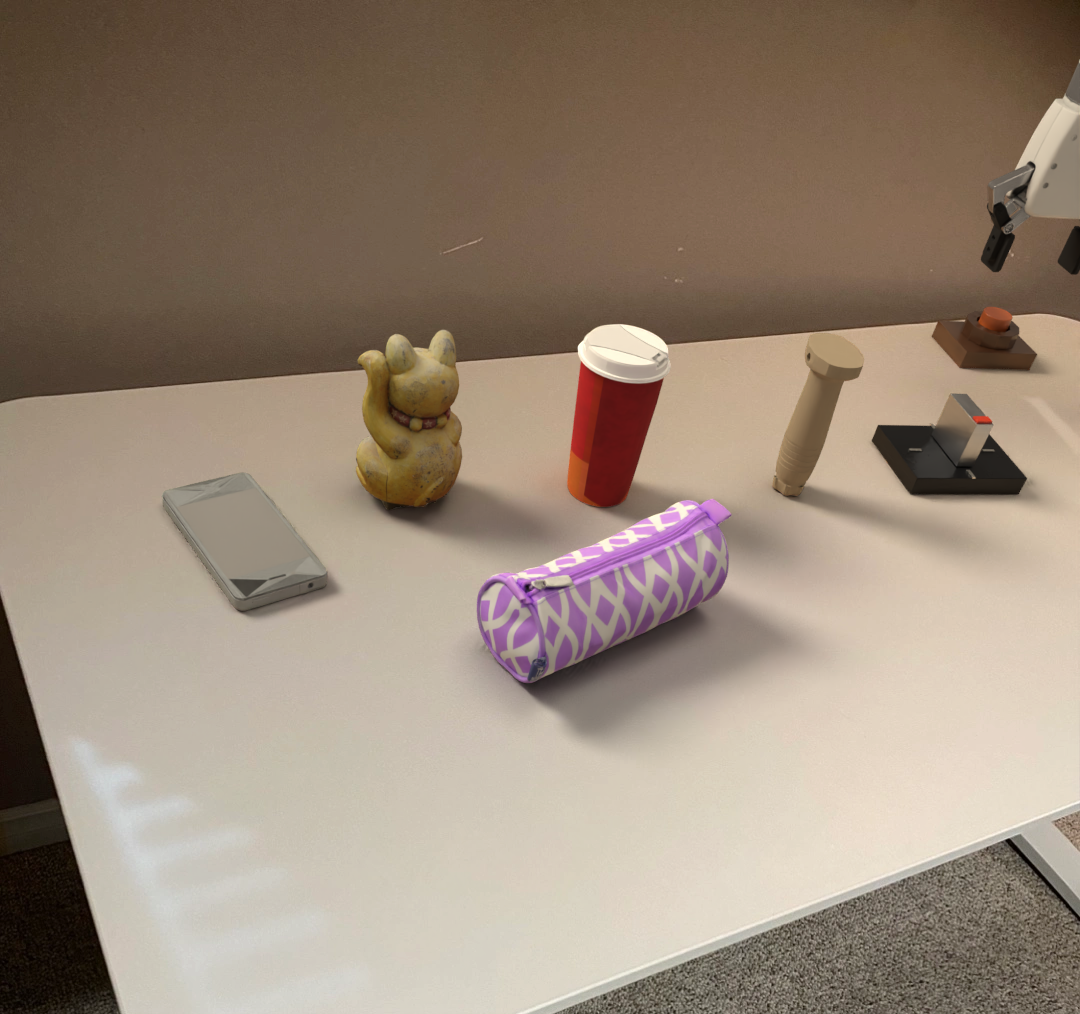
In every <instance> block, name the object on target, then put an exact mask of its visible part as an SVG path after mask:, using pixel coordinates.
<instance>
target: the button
mask: <svg viewBox="0 0 1080 1014" xmlns="http://www.w3.org/2000/svg"><path fill="white" fill-rule="evenodd" d="M982 311H983V312H982V314H981V317H980V319H979V321H978V322H979V323H980V324H981V325H982V326H984V327H986V328H988V329H990V330H994V331H997V332H1006V331H1007V329H1008V327H1009V325H1010V323H1011V321H1013V315H1012V314H1011V313H1010V312H1009V311H1007V310H1006V309H1003V308H1001V307H997V306H985V308H983V310H982Z"/></svg>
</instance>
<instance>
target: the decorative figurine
mask: <svg viewBox="0 0 1080 1014" xmlns="http://www.w3.org/2000/svg"><path fill="white" fill-rule="evenodd" d="M385 345H386V347H385V353H383V352H381V351H379V350H377V349H370V350H367V351H365V352H363V353H362V354H361V355H359V357H358V359H357V364H358V366H360V367H362V369H363V370H364V372H365V374H366V376H367V385H366V389H365V392H364V395H363V398H362V405H361V413H362V419H363V423H364V425H365V427H366V429H367V431H368V433H369V434H370V436H369V435H368V436H367V437H365V438H363V439H362V440H361V441H360V443H359V445H357V450H356V455H355V460H356V466H355V472H356V475H357V478H358V480H359V482H360V484H361V486H362V487H363V488H364V489H365V491H366V492H368V493H369V495H371V496H373V497H374V498H375V499H378V500H379V501H380V502H381V503H382V504H383V507H384V508H385V510H386V511H392V510H395V509H399V508H400V509H401V508H406V507H408V508H409V507H414V508H422V507H424V508H425V507H426V506H427V505H430V504H435V503H437V500H440V499H441V498H444V497H445V496H447V495H448V493H449V492H450V491H451V489H452V488H453V486H454V485H455V484H456V481H457V479H458V476H459V473H460V469H461V465H462V460H463V450H462V445H461V443H460V440H461V438H462V433H463V432H462V431H463V426H462V422H461V420H460V418H459V417H458V416H457V414H455V413H454V412H453V411H452V410H451V407H452V405H453V404H454V403H455V401H456V399H457V397H458V394H459V389H460V377H459V374H458V373H459V372H458V369H457V366H456V364H457V350H456V343H455V339H454V335H453V334H452V333H451V332H450V331H449V330H447V329H440V330H438V331H437V332H436V333H435V334H434V335H433V337H432V339H431V340H430V343H429V345H428V348H425V347H424V348H423V347H413V345H412V344H411V342H410V341H409V339H408V338H407V337H406V336H404V335H402V334H400V333H395V334H392V335H390V337H389V338H388V340H387V342H386V344H385Z"/></svg>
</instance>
